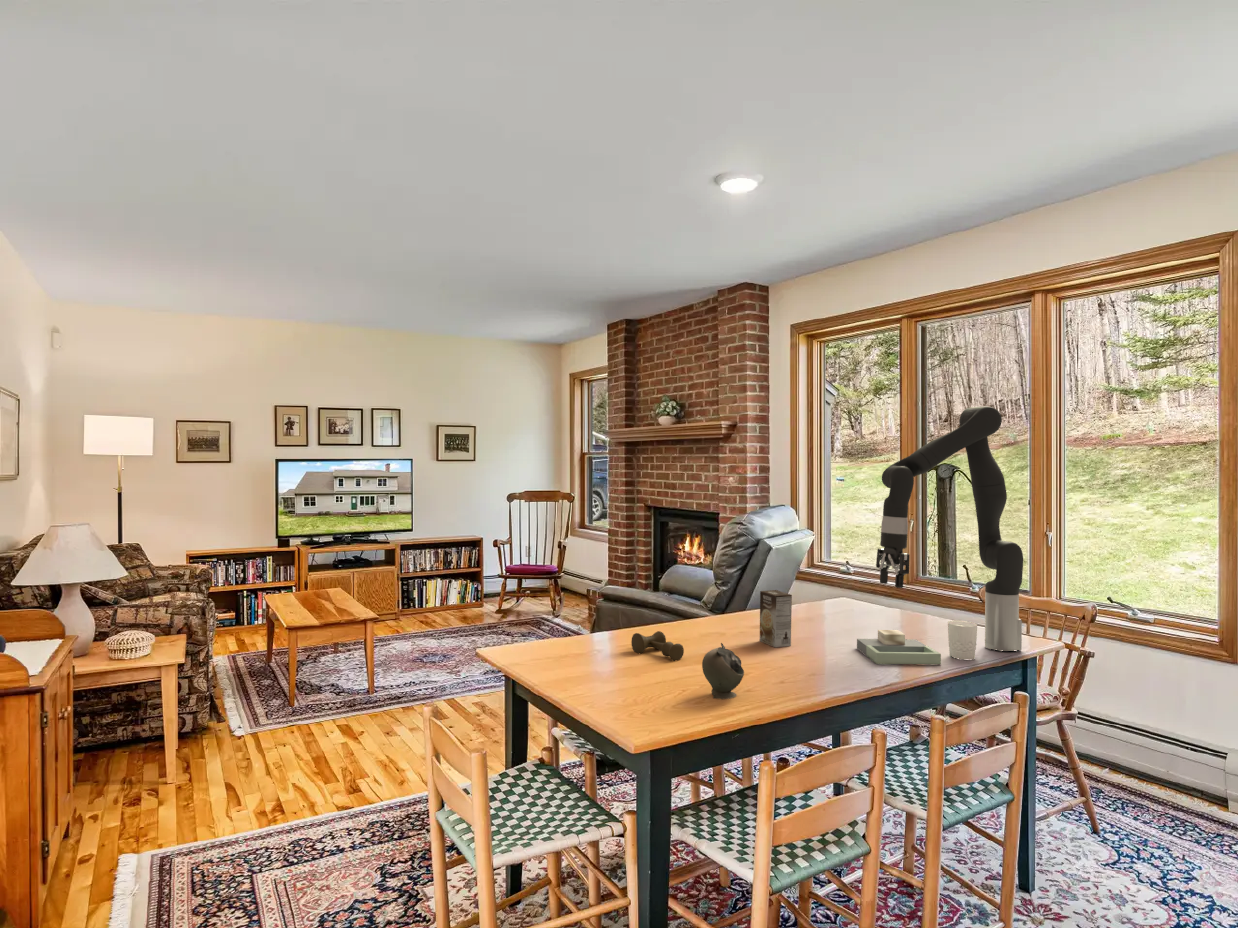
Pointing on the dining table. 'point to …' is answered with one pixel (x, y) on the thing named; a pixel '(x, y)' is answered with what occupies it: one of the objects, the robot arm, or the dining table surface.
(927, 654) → the box
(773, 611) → the coffee box
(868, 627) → the dining table surface
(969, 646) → the white cup
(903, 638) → the pale wooden block
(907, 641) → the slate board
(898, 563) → the robot arm
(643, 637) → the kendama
